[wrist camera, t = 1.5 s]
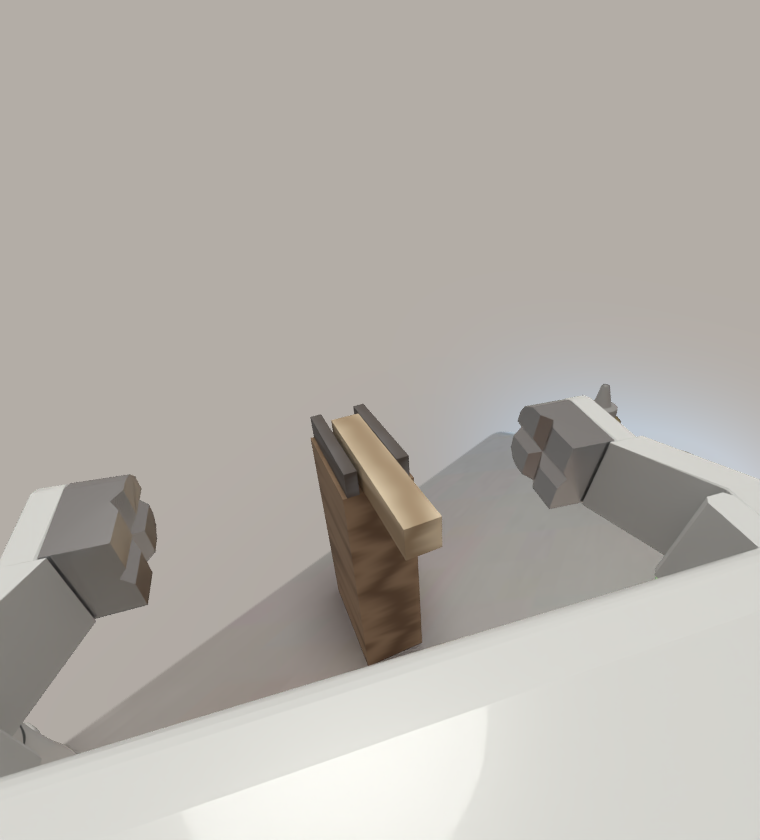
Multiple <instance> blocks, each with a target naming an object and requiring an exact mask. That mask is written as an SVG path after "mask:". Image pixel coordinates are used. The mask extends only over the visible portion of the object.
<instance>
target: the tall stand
mask: <svg viewBox="0 0 760 840" xmlns="http://www.w3.org/2000/svg"><path fill="white" fill-rule="evenodd" d="M354 414H359V415H360V416H361V417H362V419H363V420H364V421H365V422H366V424H367V425H368V426H369V427H370V428H371V430H372V431H373V432H374V433H375V435H376V436H377V437H378V438H379V440H380V441H381V442H382V443H383V445H384V446H385V447H386V448H387V449H388V451H389V452H390V453H391V454H392V456H393V457H394V458H395V459H396V461H397V462H398V463H399V464H400V466H401V467H402V468H403V469H404V470H405V472H406V473H407V474H408V475H409V477H410V478H411V479H412V480H413V482H414V478H413V476H412V475H411V474H410V473H409V456H408V455H407V453H406V452H405V451H404V450H403V449H402V448H401V447H400V445H399V444H398V443H397V442H396V441H395V440H394V438H393V437H392V436H391V435H390V434H389V433H388V432H387V431H386V429H385V428H384V427H383V426H382V425H381V424H380V422H379V421H378V420H377V419H376V418H375V417H374V416H373V415H372V413H371V412H370V411H369V410H368V409H367V408H366V406H365V405H364V404H361V405H357V406H354ZM311 422H312V428H313V434H314V437H313V438H311V442H312V448H313V453H314V459H315V464H316V469H317V475H318V481H319V486H320V492H321V497H322V502H323V508H324V513H325V519H326V524H327V529H328V535H329V540H330V546H331V551H332V557H333V562H334V567H335V573H336V578H337V584H338V589H339V592H340V594H341V597H342V600H343V602H344V605H345V607H346V610H347V612H348V615H349V617H350V620H351V622H352V625H353V628H354V630H355V633H356V635H357V638H358V640H359V643H360V645H361V648H362V651H363V653H364V656H365V658H366V661H367V663H368V666H370V665H372V664H375V663H377V662H379V661H381V660H384V659H386V658H388V657H390V656H393V655H395V654H397V653H399V652H402V651H404V650H406V649H408V648H411V647H413V646H415V645H417V644H420V643H422V634H421V614H420V594H419V574H418V556H417V557H414V558H412V559H409V560H405V558H404V557H403V555H402V553H401V552H400V550H399V548H398V547H397V545H396V544H395V542H394V540H393V539H392V537H391V535H390V534H389V532H388V530H387V529H386V527H385V526H384V524H383V522H382V521H381V519H380V517H379V516H378V514H377V512H376V511H375V509H374V508H373V506H372V504H371V503H370V501H369V499H368V498H367V496H366V494H365V493H364V491H363V490H362V488H361V486H360V485H359V483H358V477H357V471H356V469H355V468H354V466H353V464H352V463H351V461H350V460H349V458H348V456H347V455H346V453H345V452H344V450H343V449H342V447H341V445H340V444H339V442H338V441H337V439H336V437H335V436H334V434H333V432H332V431H331V430H330V428H329V426H328V425H327V423H326V422H325V420H324V418H323V417H322V415H317V416H313V417H311Z"/></svg>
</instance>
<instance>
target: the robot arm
mask: <svg viewBox="0 0 760 840" xmlns="http://www.w3.org/2000/svg"><path fill="white" fill-rule="evenodd" d="M518 422H519V424H520V425H521V428H520V429H519V431H518V432H517V433H516V434H515V435H514V436H513V441H512V445H511V450H512V457H513V460H514V462H515V464H516V466H517V468H518V469H519V471H520V472H521V473H522V474H523V475H525V476H527V477H529V478H531V479H533V489H534V490H535V492H536V493H537V494H538V495H539V497H540V498H541V499H542V501H543V502H544V503H545V504H546V506H547V507H548V508H549V509H552V508H557V507H562V506H567V505H571V504H576V503H581V502H583V503H582V504H583V505H584V506H586V507H587V508H589V509H591V510H592V511H594V512H595V513H597V514H599V515H600V516H602V517H604V518H605V519H607V520H608V521H610V522H612V523H613V524H615V525H616V526H618V527H620V528H621V529H623V530H625V531H626V532H628V533H629V534H631V535H633V536H634V537H636V538H638V539H639V540H641V541H642V542H644V543H646V544H647V545H649V546H650V547H652V548H654V549H655V550H657V551H659V552H660V553H662V554H663V555H665V556H664V557H663V558H662V560H661V561H660V563H659V564H658V565H657V567H656V568H655V576H656V577H657V578H658V579H654V580H651V581H648V582H644V583H641V584H638V585H635V586H631V587H628V588H625V589H621V590H618V591H615V592H611V593H608V594H605V595H601V596H598V597H595V598H591V599H588V600H585V601H582V602H578V603H575V604H572V605H568V606H565V607H562V608H558V609H555V610H552V611H548V612H545V613H542V614H539V615H535V616H532V617H529V618H525V619H522V620H519V621H515V622H512V623H509V624H505V625H502V626H499V627H496V628H492V629H489V630H486V631H482V632H479V633H476V634H472V635H469V636H466V637H462V638H459V639H456V640H453V641H449V642H446V643H443V644H439V645H436V646H433V647H429V648H426V649H423V650H419V651H416V652H413V653H410V654H406V655H403V656H400V657H396V658H393V659H390V660H386V661H383V662H380V663H377V664H373V665H370V666H367V667H363V668H360V669H357V670H353V671H350V672H347V673H344V674H340V675H337V676H334V677H330V678H327V679H324V680H320V681H317V682H314V683H311V684H307V685H304V686H301V687H297V688H294V689H291V690H287V691H284V692H281V693H278V694H274V695H271V696H268V697H264V698H261V699H258V700H254V701H251V702H248V703H245V704H241V705H238V706H235V707H231V708H228V709H225V710H221V711H218V712H215V713H212V714H208V715H205V716H202V717H198V718H195V719H192V720H188V721H185V722H182V723H179V724H175V725H172V726H169V727H165V728H162V729H159V730H155V731H152V732H149V733H146V734H142V735H139V736H136V737H132V738H129V739H126V740H122V741H119V742H116V743H113V744H109V745H106V746H103V747H99V748H96V749H93V750H89V751H86V752H83V753H79V754H75V753H74V752H73V751H72V750H71V749H70V748H69V747H67V746H65V745H63V744H61V743H58V742H55V741H53V740H51V739H48V738H47V737H45V736H43V735H41V733H40V732H39V730H38V729H37V728H35V727H34V726H33V725H31V724H30V723H23V721H24V720H25V718H26V717H27V716H28V714H29V713H30V711H31V710H32V709H33V707H34V706H35V705H36V703H37V702H38V700H39V699H40V698H41V696H42V694H44V692H45V691H46V689H47V688H48V687H49V685H50V684H51V682H52V681H53V680H54V678H55V677H56V676H57V674H58V673H59V671H60V670H61V668H62V667H63V666H64V665H65V663H66V662H67V660H68V659H69V658H70V656H71V655H72V654H73V652H74V651H75V650H76V648H77V647H78V645H79V644H80V643H81V641H82V640H83V638H84V637H85V636H86V634H87V633H88V632H89V630H90V629H91V627H92V626H93V625H94V623H95V622H96V621H95V619H96V618H100V617H104V616H107V615H111V614H115V613H119V612H123V611H126V610H130V609H134V608H137V607H142V606H145V605H148V600H149V593H150V585H151V579H152V571H151V569H150V567H149V565H148V563H147V561H148V560H149V559H150V558H151V557H152V555H153V554H154V553H155V551H156V542H157V534H156V523H155V519H154V515H153V512H152V510H151V508H150V506H149V504H147V503H145V502H142V501H141V500H139V499H140V493H141V487H140V485H139V483H138V481H137V480H136V477H135V476H132V475H123V476H116V477H109V478H103V479H96V480H89V481H83V482H76V483H70V484H69V485H60V486H54V487H47V488H41V489H37V490H36V491H34V492H33V493H32V494H31V495H30V496H29V498H28V500H27V503H26V505H25V507H24V509H23V511H22V513H21V515H20V517H19V519H18V522H17V524H16V526H15V528H14V530H13V532H12V534H11V537H10V539H9V541H8V543H7V545H6V547H5V550H4V551H3V554H2V556H1V558H0V840H760V479H757V478H754V477H752V476H749V475H746V474H743V473H741V472H738V471H736V470H733V469H730V468H727V467H725V466H722V465H719V464H717V463H714V462H711V461H708V460H706V459H703V458H700V457H698V456H695V455H692V454H690V453H687V452H684V451H682V450H679V449H676V448H673V447H671V446H668V445H665V444H663V443H660V442H657V441H655V440H652V439H649V438H646V437H644V436H639V437H636V436H635V435H633V434H632V433H631V432H630V431H629V430H628V429H626V428H625V427H624V426H623V425H622V424H621V423H619V422H618V421H617V420H616V419H615V418H613V417H612V416H611V415H610V414H609V413H608V412H606V411H605V410H604V409H603V408H602V407H600V406H599V405H598V404H597V403H596V402H595V401H593V400H592V399H591V398H589V397H586V396H583V395H582V396H577V397H572V398H567V399H563V400H558V401H552V402H547V403H541V404H536V405H530V406H525V407H524V408H523V409H522V411H521V412H520V415H519V418H518Z"/></svg>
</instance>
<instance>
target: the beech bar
mask: <svg viewBox="0 0 760 840" xmlns="http://www.w3.org/2000/svg"><path fill="white" fill-rule="evenodd" d="M332 428H333V434H334V436H335V437H336V439H337V441H338V442H339V444H340V445H341V447H342V449H343V450H344V452H345V453H346V455H347V456H348V458H349V460H350V461H351V463H352V464H353V466H354V468H355V469H356V471H357V477H358V483H359V485H360V486H361V488H362V490H363V491H364V493H365V494H366V496H367V498H368V499H369V501H370V503H371V504H372V506H373V508H374V509H375V511H376V512H377V514H378V516H379V517H380V519H381V521H382V522H383V524H384V526H385V527H386V529H387V530H388V532H389V534H390V535H391V537H392V539H393V540H394V542H395V544H396V545H397V547H398V548H399V550H400V552H401V553H402V555H403V557H404V558H405V560H409V559H412V558H414V557H417V556H420V555H422V554H425V553H427V552H430V551H433V550H435V549H438V548H441V547H442V516H441V515H440V514H439V512H438V511H437V510H436V509H435V507H434V506H433V505H432V504H431V503H430V501H429V500H428V499H427V498H426V496H425V495H424V494H423V493H422V491H421V490H420V489H419V488H418V487H417V485H416V484H415V483H414V482H413V480H412V479H411V478H410V477H409V475H408V474H407V473H406V472H405V470H404V469H403V468H402V467H401V466H400V464H399V463H398V462H397V461H396V459H395V458H394V457H393V456H392V454H391V453H390V452H389V451H388V449H387V448H386V447H385V446H384V445H383V443H382V442H381V441H380V440H379V438H378V437H377V436H376V435H375V433H374V432H373V431H372V430H371V428H370V427H369V426H368V425H367V424H366V422H365V421H364V420H363V419H362V417H361V416H360V415H359V414H354V415H350V416H347V417H343V418H339V419H335V420H332Z"/></svg>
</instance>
